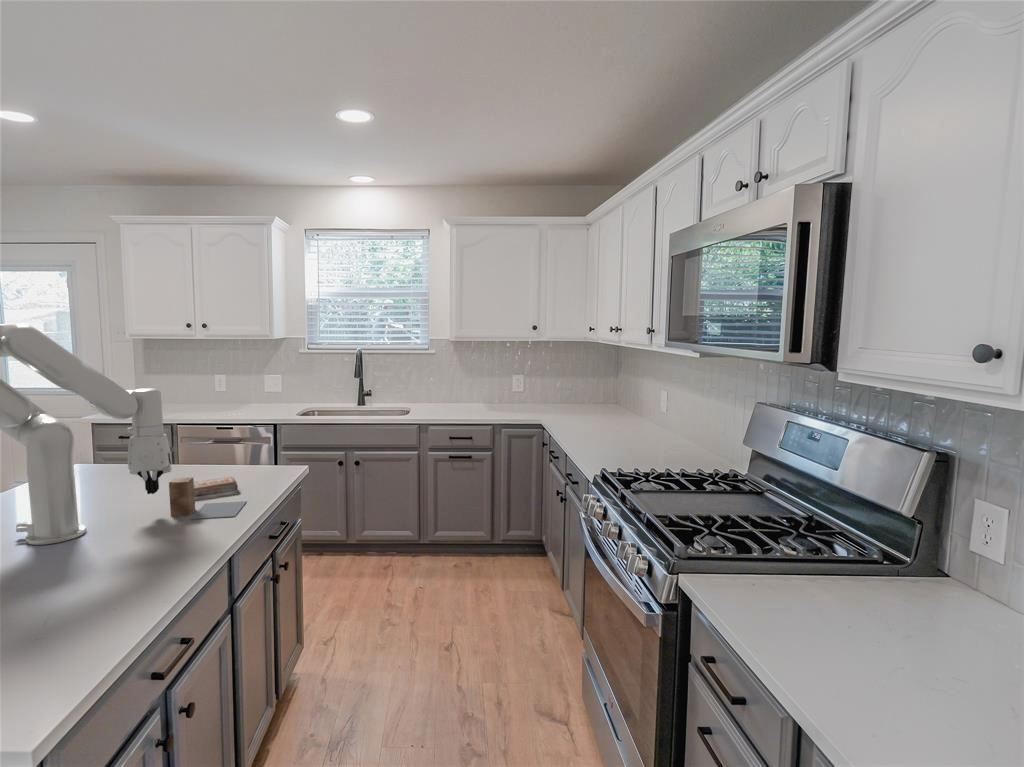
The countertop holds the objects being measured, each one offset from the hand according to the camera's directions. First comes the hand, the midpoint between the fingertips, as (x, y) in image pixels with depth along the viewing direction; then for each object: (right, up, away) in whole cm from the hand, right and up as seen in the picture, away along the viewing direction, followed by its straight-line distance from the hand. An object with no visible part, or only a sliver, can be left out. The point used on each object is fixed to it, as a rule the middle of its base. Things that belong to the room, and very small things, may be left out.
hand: (152, 492), depth 168 cm
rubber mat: (+18, -6, +4) cm, 19 cm away
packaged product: (+5, -5, +20) cm, 22 cm away
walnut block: (+8, -7, +2) cm, 10 cm away
